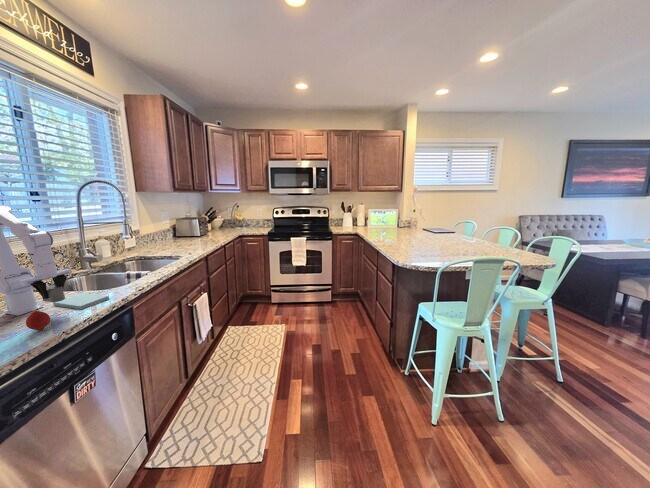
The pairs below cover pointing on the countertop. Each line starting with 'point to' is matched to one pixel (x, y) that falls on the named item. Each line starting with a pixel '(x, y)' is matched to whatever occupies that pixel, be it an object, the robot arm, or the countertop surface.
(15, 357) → the countertop surface
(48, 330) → the countertop surface
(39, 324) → the onion
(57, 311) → the countertop surface
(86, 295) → the board
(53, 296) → the connector
